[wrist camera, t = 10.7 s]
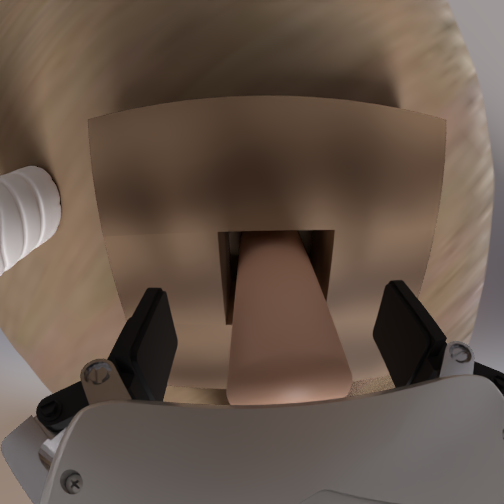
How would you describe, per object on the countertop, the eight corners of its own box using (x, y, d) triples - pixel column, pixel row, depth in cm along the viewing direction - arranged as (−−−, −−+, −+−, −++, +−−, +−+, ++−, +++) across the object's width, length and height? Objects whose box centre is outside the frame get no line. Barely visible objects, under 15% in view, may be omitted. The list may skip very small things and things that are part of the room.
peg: (239, 215, 18) (219, 353, 7) (300, 214, 18) (365, 345, 7) (241, 269, 20) (231, 424, 9) (298, 268, 19) (338, 417, 9)
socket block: (128, 119, 15) (87, 119, 10) (402, 118, 15) (446, 119, 10) (166, 341, 23) (151, 384, 18) (369, 334, 22) (388, 375, 18)
